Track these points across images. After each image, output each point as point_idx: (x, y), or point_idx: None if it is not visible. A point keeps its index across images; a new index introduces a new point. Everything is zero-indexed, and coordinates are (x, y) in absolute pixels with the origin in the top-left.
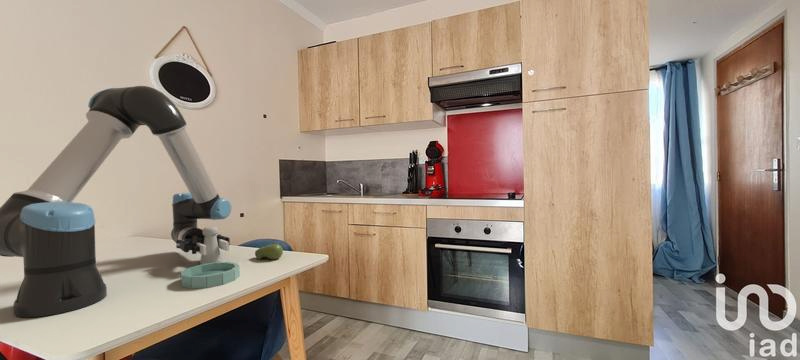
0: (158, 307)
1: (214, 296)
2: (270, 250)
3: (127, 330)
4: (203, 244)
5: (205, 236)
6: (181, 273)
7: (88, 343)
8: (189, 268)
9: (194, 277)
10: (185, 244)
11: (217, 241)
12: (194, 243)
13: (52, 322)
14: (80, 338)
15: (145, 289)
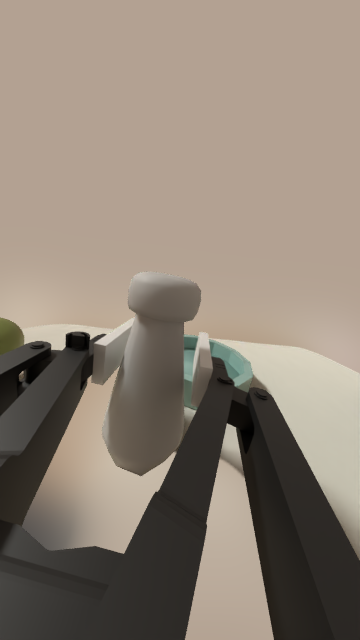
0: (266, 357)
1: None
2: (21, 332)
3: (281, 347)
4: (182, 367)
5: (183, 325)
6: (251, 369)
7: (301, 350)
8: (234, 381)
9: (231, 349)
10: (266, 393)
11: (78, 378)
12: (221, 376)
13: None
14: (314, 357)
15: (316, 420)
